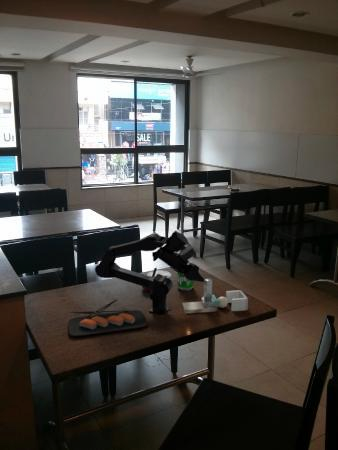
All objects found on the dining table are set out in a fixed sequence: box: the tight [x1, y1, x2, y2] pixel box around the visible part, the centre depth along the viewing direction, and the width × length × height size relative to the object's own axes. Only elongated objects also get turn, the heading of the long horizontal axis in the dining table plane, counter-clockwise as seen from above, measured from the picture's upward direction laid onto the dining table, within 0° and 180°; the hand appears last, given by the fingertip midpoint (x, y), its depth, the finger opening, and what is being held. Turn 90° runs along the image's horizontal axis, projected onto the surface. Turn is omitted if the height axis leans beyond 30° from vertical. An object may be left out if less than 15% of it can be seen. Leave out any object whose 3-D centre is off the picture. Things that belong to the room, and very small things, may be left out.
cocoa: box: [141, 267, 158, 293], centre depth 185 cm, size 10×6×12 cm, turn 27°
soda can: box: [177, 261, 195, 292], centre depth 188 cm, size 8×8×12 cm
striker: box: [200, 278, 218, 307], centre depth 167 cm, size 6×6×11 cm
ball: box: [216, 296, 229, 309], centre depth 169 cm, size 4×4×4 cm
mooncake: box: [146, 269, 172, 280], centre depth 200 cm, size 12×12×4 cm
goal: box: [225, 289, 249, 312], centre depth 170 cm, size 6×9×5 cm
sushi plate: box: [67, 299, 148, 337], centre depth 162 cm, size 29×30×4 cm
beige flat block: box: [181, 301, 218, 314], centre depth 168 cm, size 13×7×2 cm, turn 98°
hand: (199, 278), depth 167 cm, fingers open, 9 cm apart
